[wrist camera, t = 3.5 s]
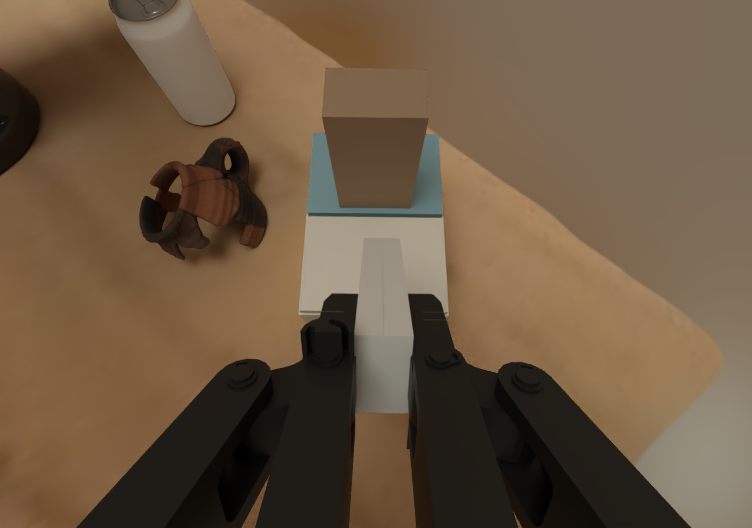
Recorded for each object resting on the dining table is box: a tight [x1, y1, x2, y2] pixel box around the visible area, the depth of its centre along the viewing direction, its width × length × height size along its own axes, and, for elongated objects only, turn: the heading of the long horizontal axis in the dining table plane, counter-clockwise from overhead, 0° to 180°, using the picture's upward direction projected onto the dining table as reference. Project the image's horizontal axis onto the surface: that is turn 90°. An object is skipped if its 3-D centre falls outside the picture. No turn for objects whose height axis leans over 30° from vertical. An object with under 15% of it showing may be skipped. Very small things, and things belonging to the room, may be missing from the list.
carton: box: [298, 143, 449, 323], centre depth 30 cm, size 14×10×10 cm
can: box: [109, 0, 235, 126], centre depth 35 cm, size 6×6×12 cm
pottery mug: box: [139, 138, 266, 260], centre depth 34 cm, size 12×9×8 cm
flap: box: [307, 68, 443, 218], centre depth 22 cm, size 7×10×10 cm
